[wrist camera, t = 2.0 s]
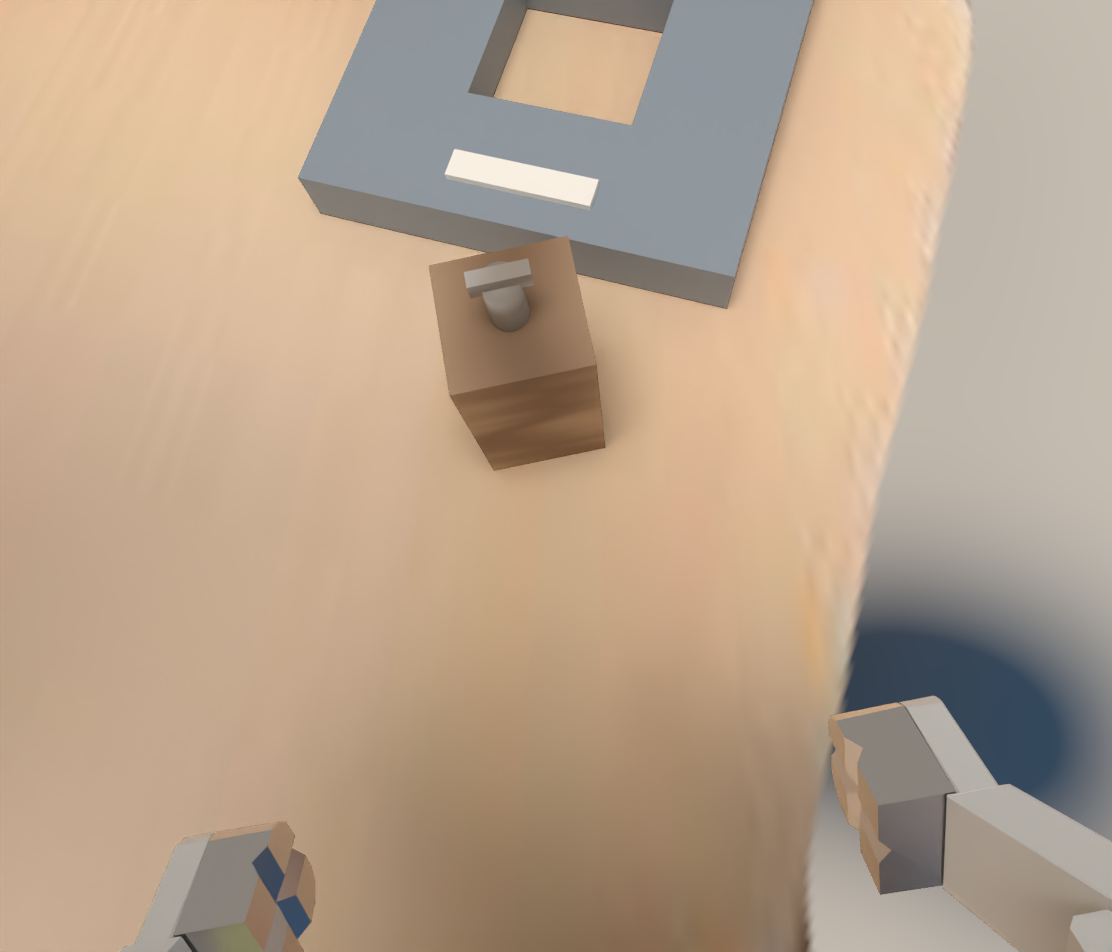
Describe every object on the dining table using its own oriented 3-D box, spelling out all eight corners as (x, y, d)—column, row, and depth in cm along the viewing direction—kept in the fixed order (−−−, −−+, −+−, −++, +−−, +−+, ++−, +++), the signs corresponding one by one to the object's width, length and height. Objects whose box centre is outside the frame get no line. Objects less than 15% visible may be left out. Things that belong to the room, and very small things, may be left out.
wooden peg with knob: (494, 470, 31) (429, 362, 22) (476, 368, 33) (408, 221, 23) (605, 447, 31) (592, 328, 21) (583, 345, 33) (561, 187, 23)
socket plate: (320, 213, 35) (294, 173, 33) (455, -101, 40) (442, -159, 37) (726, 308, 32) (735, 272, 30) (825, -42, 37) (841, -100, 34)
